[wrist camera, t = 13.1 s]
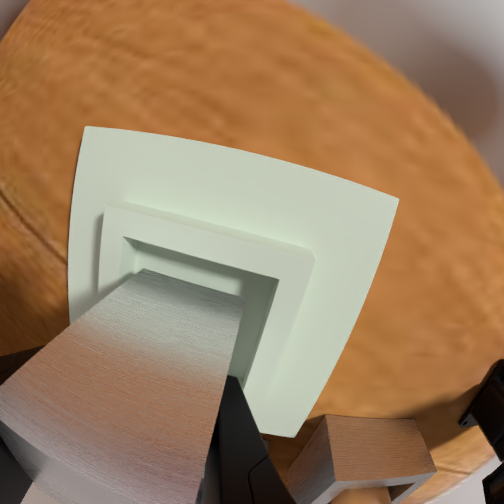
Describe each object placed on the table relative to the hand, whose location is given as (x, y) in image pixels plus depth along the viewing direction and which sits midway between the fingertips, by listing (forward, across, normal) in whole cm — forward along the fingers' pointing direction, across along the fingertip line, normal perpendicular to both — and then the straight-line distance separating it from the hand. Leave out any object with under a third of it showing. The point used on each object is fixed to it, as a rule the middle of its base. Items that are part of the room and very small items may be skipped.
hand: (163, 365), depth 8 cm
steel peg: (+2, 0, 0) cm, 2 cm away
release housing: (+5, -12, +9) cm, 16 cm away
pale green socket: (+5, 0, 0) cm, 5 cm away
